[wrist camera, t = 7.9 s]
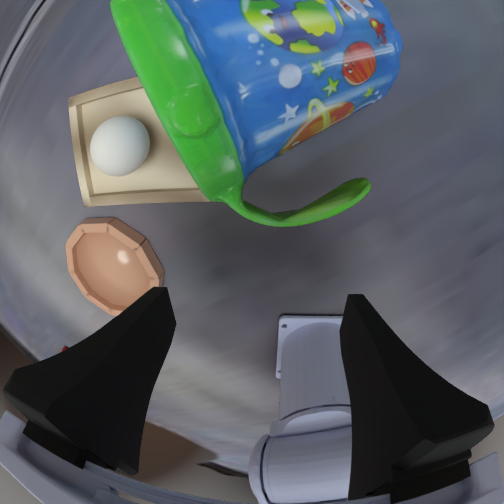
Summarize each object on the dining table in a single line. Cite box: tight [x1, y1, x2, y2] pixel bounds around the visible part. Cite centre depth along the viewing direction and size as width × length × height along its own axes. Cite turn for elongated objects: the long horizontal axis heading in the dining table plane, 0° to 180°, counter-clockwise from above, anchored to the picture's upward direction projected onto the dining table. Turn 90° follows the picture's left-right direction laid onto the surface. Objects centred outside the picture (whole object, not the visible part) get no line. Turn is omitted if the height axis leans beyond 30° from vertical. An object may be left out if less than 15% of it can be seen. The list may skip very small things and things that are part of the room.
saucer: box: [66, 217, 164, 316], centre depth 23 cm, size 10×10×1 cm
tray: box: [68, 77, 212, 207], centre depth 17 cm, size 9×11×1 cm
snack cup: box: [110, 0, 403, 227], centre depth 10 cm, size 16×10×10 cm
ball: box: [90, 115, 150, 177], centre depth 15 cm, size 4×4×4 cm
